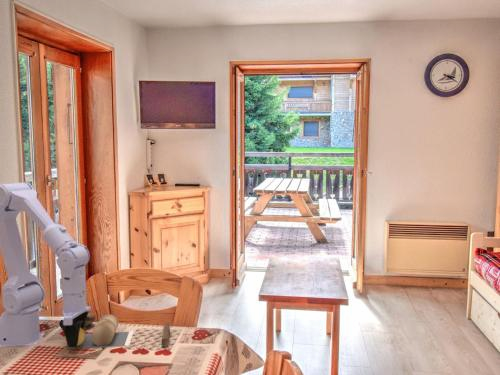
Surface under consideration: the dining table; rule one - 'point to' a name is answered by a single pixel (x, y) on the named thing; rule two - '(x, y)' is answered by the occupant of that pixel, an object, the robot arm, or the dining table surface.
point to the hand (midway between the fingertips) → (75, 341)
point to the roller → (104, 330)
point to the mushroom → (89, 320)
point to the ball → (80, 336)
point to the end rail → (165, 335)
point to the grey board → (117, 341)
